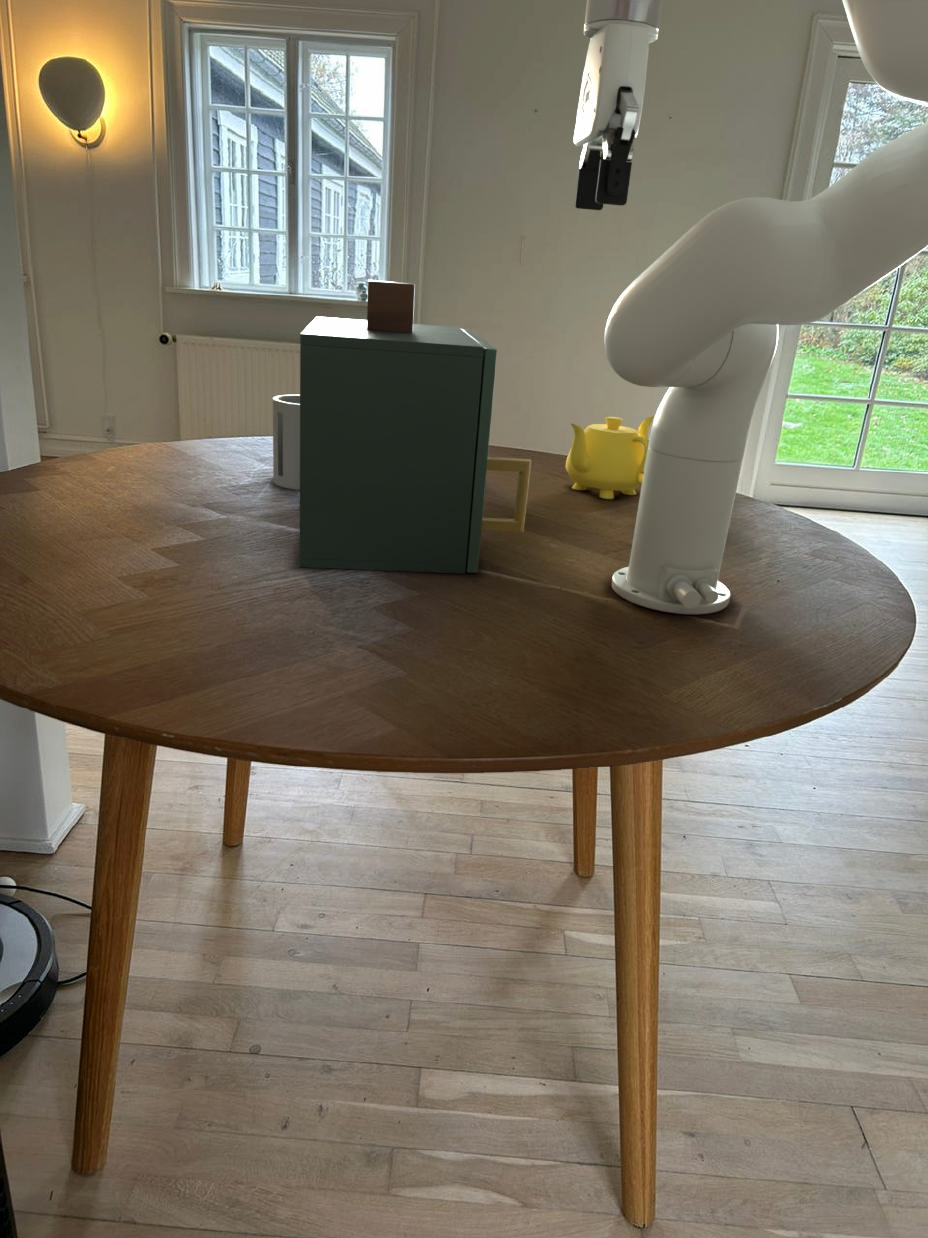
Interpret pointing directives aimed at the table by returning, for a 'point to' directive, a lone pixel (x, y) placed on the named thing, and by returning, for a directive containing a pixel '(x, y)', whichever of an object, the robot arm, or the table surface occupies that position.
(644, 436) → the teapot
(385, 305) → the block
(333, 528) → the cupboard
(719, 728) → the table surface
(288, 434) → the cup
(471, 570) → the door
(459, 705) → the table surface
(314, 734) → the table surface
